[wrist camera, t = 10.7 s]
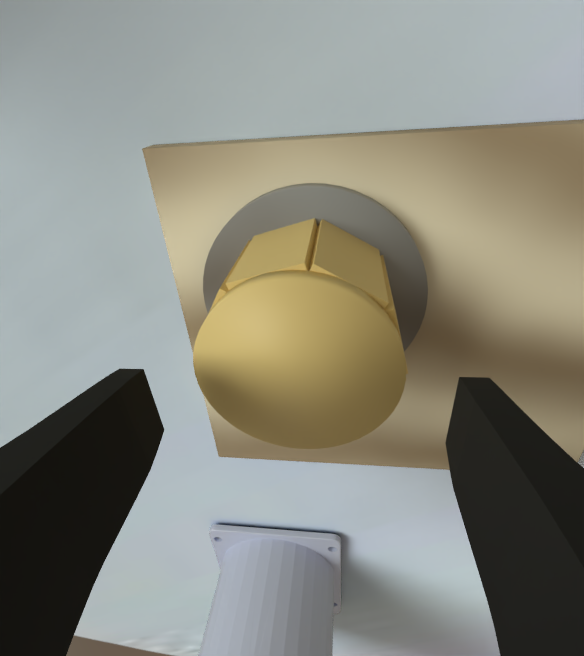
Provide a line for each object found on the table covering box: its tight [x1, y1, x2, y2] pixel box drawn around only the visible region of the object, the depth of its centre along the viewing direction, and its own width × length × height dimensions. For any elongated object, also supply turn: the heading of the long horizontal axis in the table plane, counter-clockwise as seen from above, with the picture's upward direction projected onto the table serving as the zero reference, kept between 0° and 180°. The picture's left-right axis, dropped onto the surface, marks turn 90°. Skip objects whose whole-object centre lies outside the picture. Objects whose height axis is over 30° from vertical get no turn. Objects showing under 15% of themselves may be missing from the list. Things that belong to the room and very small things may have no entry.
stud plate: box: [142, 120, 584, 470], centre depth 14 cm, size 14×16×3 cm
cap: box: [193, 218, 408, 449], centre depth 12 cm, size 5×5×4 cm
